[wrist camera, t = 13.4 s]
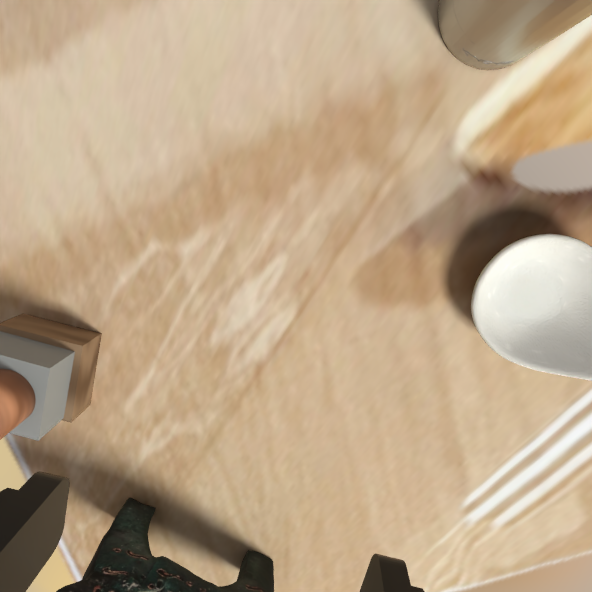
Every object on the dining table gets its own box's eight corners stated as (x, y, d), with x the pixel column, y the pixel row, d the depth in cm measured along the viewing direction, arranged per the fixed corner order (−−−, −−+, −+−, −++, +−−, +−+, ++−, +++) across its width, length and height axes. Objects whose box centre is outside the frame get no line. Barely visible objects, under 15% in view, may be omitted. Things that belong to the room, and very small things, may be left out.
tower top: (0, 331, 41) (-33, 345, 37) (74, 351, 41) (49, 368, 37) (-9, 398, 42) (-41, 419, 38) (63, 418, 42) (38, 440, 38)
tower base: (24, 312, 44) (-4, 324, 40) (102, 332, 45) (82, 345, 41) (16, 384, 46) (-11, 402, 42) (91, 403, 46) (71, 422, 42)
